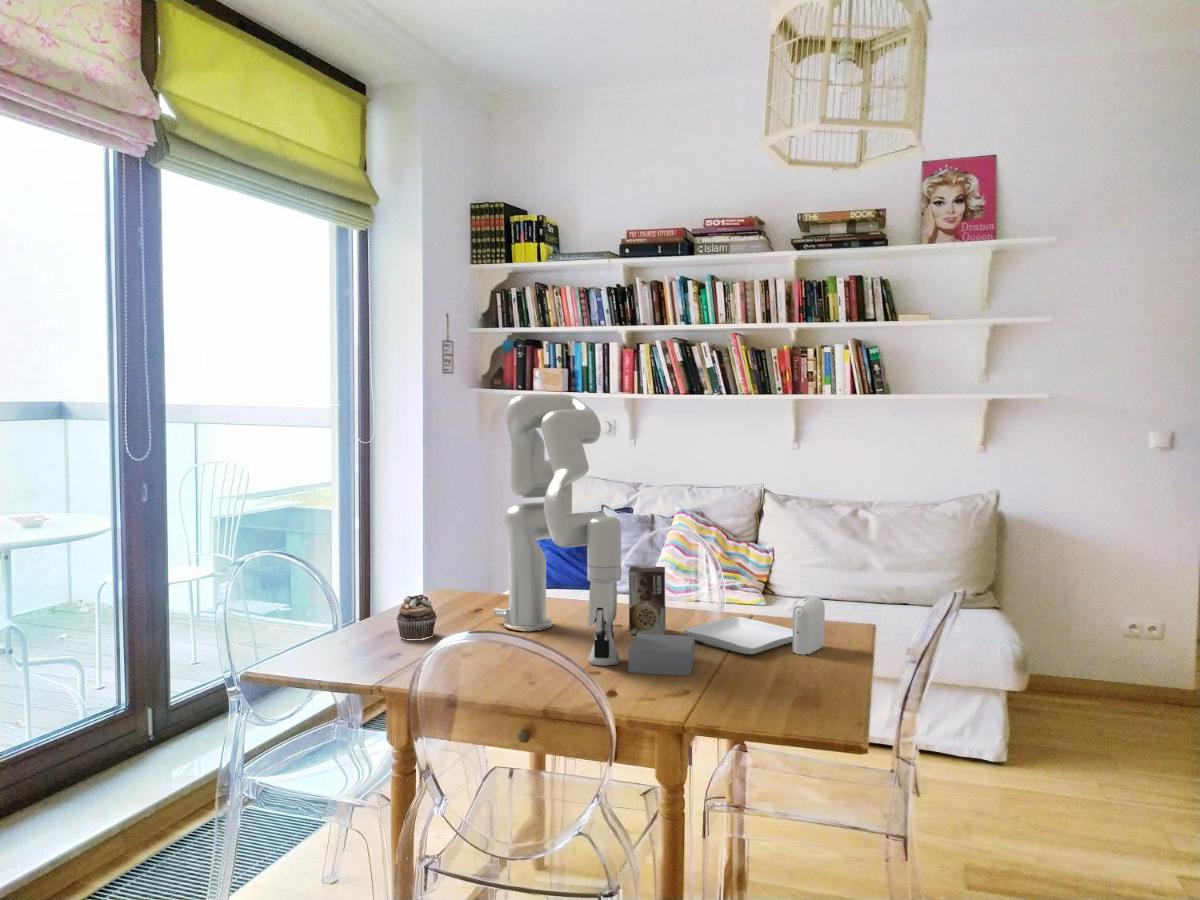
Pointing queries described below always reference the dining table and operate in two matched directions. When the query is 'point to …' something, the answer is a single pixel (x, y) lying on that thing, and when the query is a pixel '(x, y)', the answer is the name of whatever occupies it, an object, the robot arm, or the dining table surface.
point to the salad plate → (741, 635)
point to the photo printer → (808, 625)
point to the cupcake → (416, 618)
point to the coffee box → (647, 600)
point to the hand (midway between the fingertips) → (604, 653)
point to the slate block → (662, 654)
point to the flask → (613, 653)
